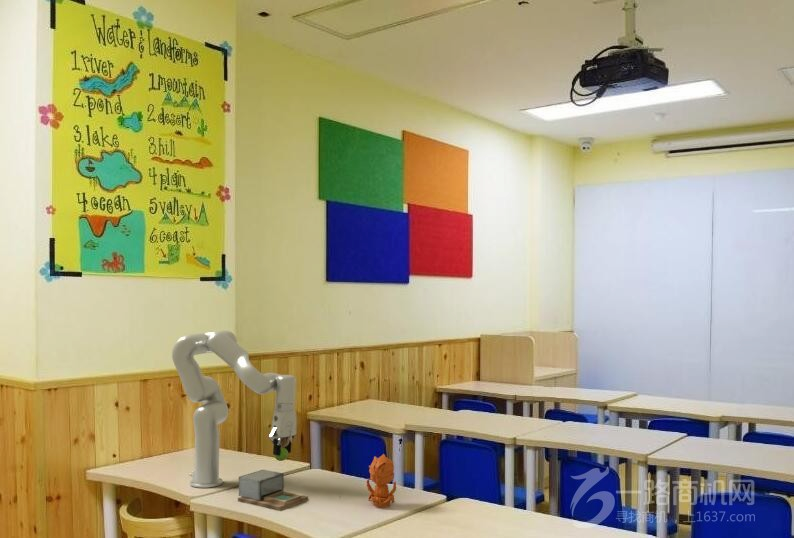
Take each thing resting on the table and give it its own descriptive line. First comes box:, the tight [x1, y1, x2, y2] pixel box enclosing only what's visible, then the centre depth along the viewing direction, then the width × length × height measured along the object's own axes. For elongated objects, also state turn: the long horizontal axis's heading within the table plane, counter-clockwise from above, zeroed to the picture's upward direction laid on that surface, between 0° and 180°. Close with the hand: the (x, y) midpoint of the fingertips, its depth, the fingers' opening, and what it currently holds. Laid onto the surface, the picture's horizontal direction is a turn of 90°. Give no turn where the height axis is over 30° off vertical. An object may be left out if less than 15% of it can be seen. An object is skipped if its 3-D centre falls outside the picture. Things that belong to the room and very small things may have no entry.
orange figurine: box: [366, 453, 397, 509], centre depth 266 cm, size 11×11×18 cm
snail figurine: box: [273, 431, 292, 462], centre depth 286 cm, size 5×6×12 cm
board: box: [237, 490, 309, 511], centre depth 270 cm, size 20×16×2 cm
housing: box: [238, 469, 285, 501], centre depth 273 cm, size 10×13×7 cm
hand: (282, 453), depth 286 cm, fingers closed on snail figurine, 5 cm apart
